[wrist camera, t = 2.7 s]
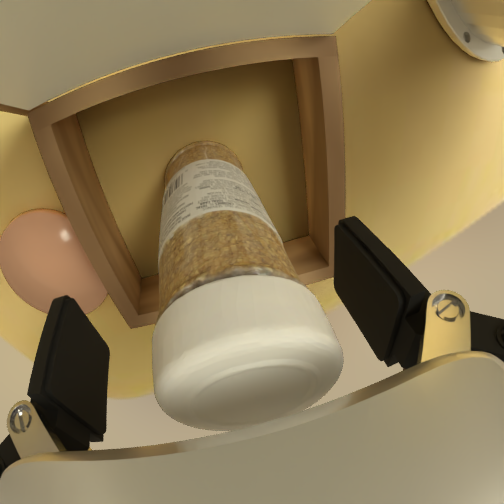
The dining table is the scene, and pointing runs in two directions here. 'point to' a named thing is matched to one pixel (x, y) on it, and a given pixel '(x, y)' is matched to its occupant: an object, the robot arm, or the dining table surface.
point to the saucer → (48, 261)
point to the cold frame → (65, 107)
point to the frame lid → (135, 35)
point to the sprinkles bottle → (232, 304)
